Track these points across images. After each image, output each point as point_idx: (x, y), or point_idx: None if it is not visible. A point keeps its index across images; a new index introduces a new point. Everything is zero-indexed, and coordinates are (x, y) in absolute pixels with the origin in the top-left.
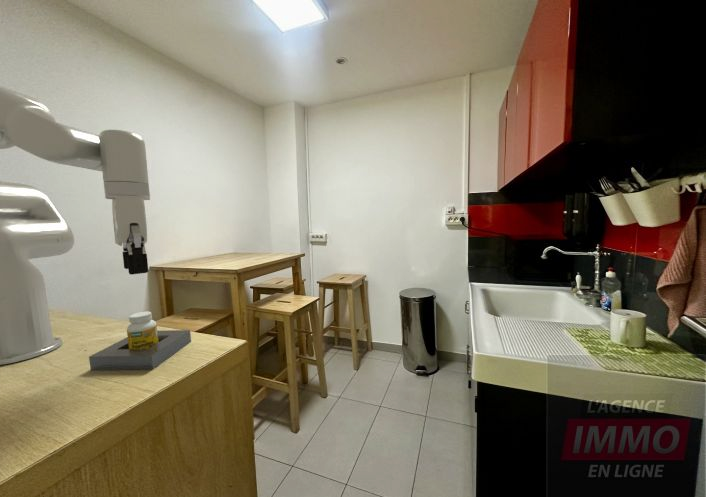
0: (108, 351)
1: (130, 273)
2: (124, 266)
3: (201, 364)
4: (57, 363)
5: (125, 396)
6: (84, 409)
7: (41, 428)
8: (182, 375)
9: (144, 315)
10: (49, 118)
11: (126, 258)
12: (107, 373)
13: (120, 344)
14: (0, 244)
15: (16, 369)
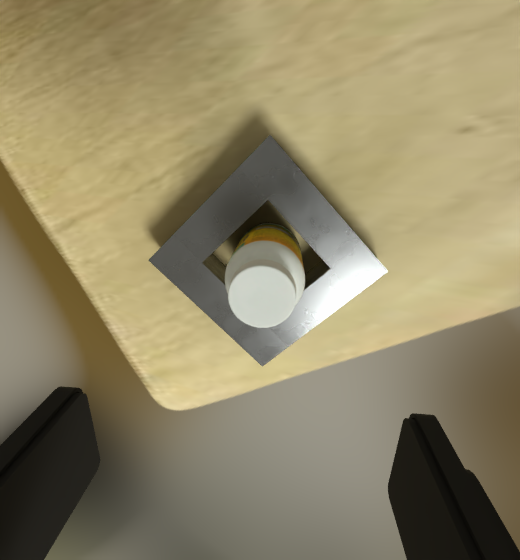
0: (269, 181)
1: (59, 392)
2: (418, 426)
3: (115, 324)
4: (419, 56)
5: (71, 188)
6: (66, 119)
7: (39, 49)
8: (90, 285)
9: (231, 304)
10: None
11: (435, 511)
12: (219, 169)
13: (303, 213)
14: None
15: None
